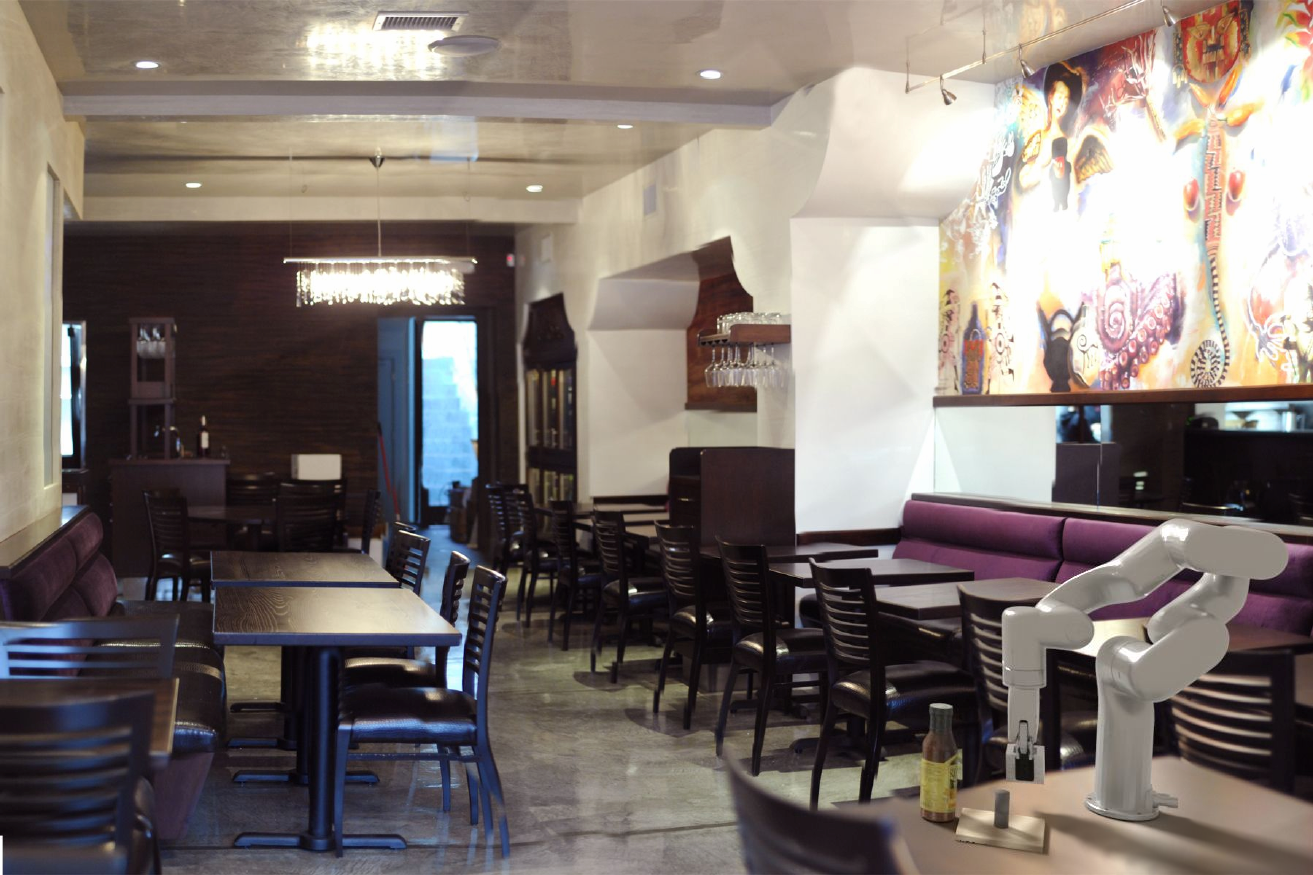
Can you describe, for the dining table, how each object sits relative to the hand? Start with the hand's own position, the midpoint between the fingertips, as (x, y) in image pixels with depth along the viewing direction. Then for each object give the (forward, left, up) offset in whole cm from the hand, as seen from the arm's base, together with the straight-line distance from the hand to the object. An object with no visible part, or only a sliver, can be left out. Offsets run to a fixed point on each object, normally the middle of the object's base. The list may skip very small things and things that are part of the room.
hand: (1025, 773), depth 218 cm
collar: (0, 0, -1) cm, 1 cm away
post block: (+3, +14, -7) cm, 15 cm away
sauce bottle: (+14, +11, -7) cm, 19 cm away
